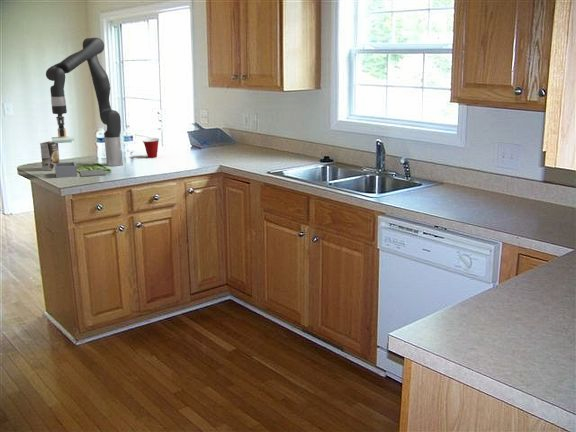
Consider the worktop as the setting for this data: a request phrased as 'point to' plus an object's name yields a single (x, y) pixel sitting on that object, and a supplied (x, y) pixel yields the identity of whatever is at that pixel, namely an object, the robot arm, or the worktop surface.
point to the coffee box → (49, 155)
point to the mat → (92, 173)
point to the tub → (65, 169)
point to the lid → (62, 138)
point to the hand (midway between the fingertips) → (62, 136)
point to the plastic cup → (151, 147)
